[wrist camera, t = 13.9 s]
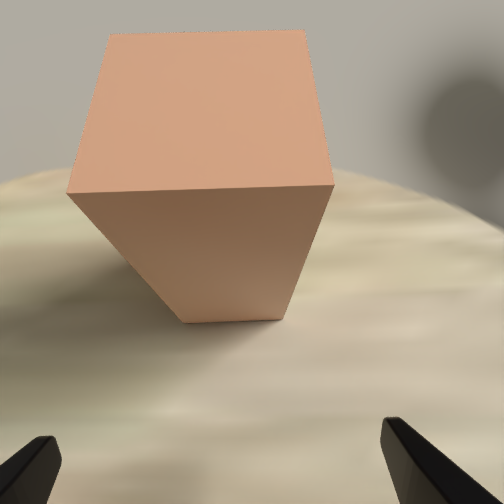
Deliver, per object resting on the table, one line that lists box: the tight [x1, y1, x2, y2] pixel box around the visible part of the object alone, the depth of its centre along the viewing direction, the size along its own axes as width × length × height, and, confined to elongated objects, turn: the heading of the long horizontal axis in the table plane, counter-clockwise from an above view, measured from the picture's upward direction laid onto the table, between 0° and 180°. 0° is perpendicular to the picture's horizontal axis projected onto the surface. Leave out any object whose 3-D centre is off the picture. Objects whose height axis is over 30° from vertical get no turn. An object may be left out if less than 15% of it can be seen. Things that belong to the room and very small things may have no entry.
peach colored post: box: [66, 30, 335, 323], centre depth 13 cm, size 6×6×12 cm
